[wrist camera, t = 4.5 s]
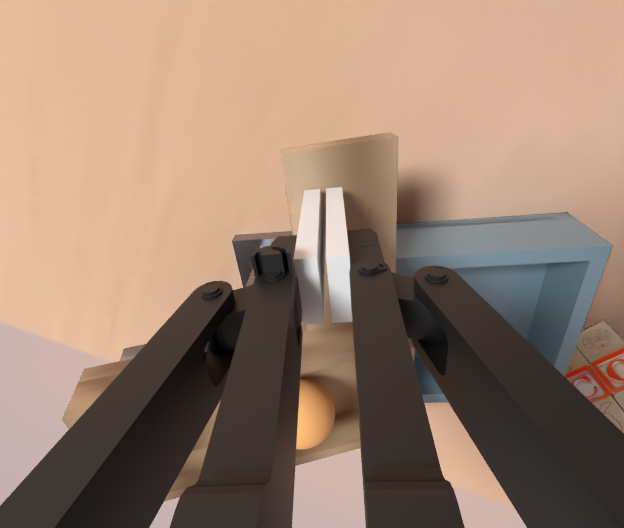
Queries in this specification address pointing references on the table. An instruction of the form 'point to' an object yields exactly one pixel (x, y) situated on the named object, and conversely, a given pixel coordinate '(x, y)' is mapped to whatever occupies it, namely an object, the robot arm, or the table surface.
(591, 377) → the stack of blocks
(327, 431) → the ball
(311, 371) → the chute
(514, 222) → the tub
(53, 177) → the table surface
